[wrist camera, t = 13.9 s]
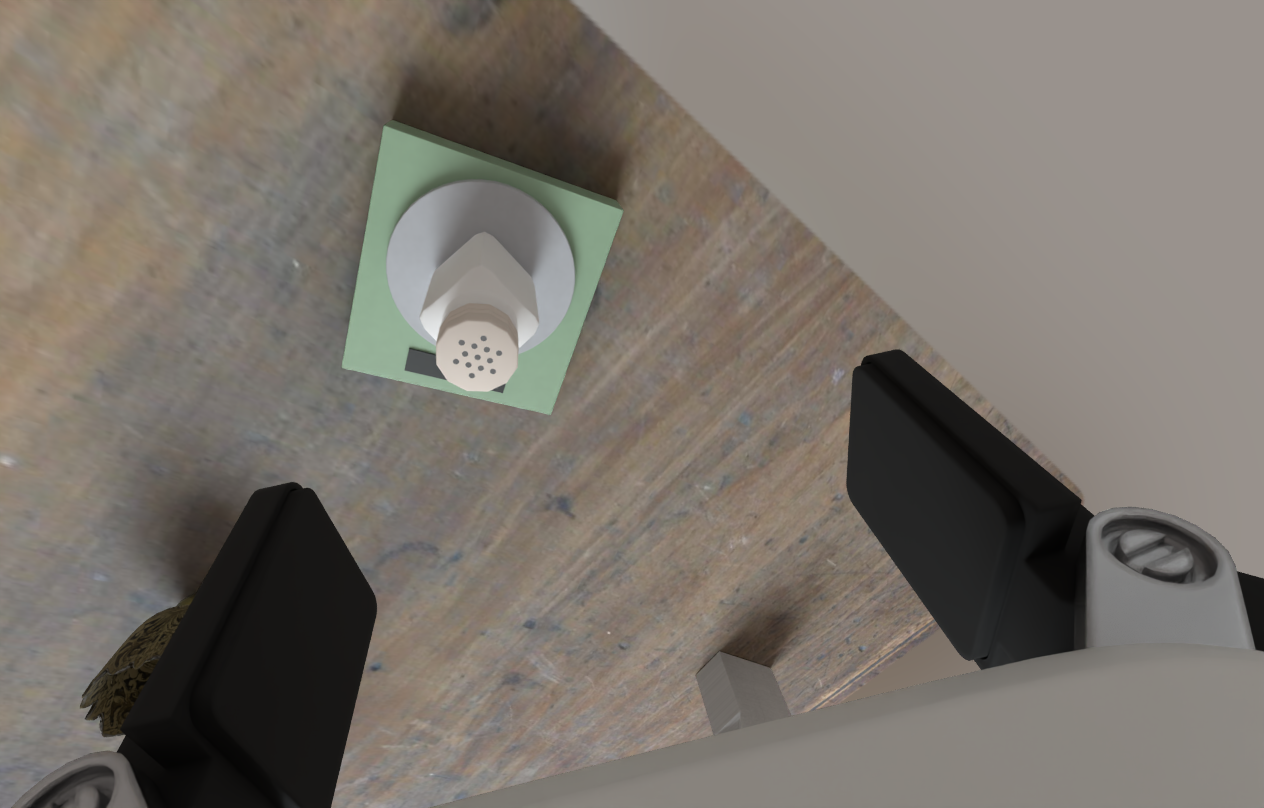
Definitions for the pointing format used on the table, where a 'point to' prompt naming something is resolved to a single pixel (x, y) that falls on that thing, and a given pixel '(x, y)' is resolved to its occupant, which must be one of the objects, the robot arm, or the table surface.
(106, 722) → the cup
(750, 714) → the grey upright carton
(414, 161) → the kitchen scale
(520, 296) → the pepper shaker
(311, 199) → the table surface
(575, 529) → the table surface
